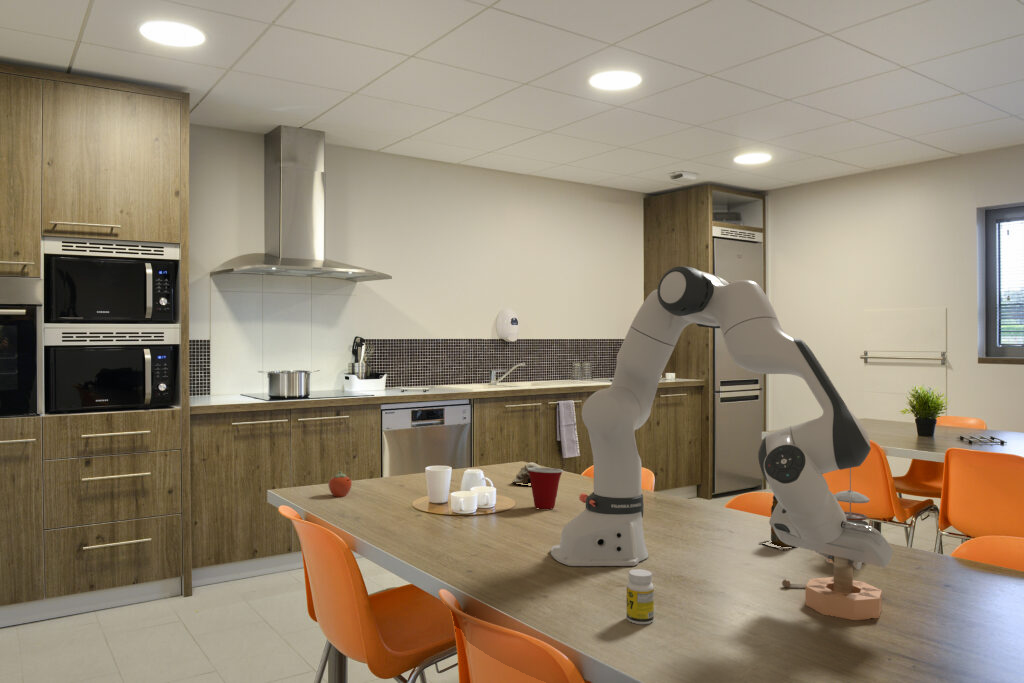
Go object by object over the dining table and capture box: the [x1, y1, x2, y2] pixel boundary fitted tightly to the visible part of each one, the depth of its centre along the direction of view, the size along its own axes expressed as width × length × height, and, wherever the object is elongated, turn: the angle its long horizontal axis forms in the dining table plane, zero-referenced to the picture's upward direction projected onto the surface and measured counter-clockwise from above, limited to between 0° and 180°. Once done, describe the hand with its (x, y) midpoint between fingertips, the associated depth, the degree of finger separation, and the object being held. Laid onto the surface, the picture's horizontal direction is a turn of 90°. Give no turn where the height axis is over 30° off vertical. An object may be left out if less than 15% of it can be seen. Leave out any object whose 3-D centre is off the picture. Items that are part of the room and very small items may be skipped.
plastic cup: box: [527, 466, 564, 510], centre depth 217 cm, size 11×11×12 cm
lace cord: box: [781, 578, 807, 589], centre depth 146 cm, size 18×2×2 cm, turn 88°
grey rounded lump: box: [512, 462, 541, 484], centre depth 256 cm, size 12×10×10 cm
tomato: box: [328, 470, 353, 498], centre depth 233 cm, size 7×7×8 cm
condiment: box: [758, 494, 795, 551], centre depth 178 cm, size 7×8×12 cm
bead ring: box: [804, 576, 883, 621], centre depth 135 cm, size 12×12×4 cm
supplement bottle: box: [626, 568, 655, 625], centre depth 128 cm, size 5×5×8 cm
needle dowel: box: [833, 556, 854, 594], centre depth 135 cm, size 3×3×13 cm
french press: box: [833, 468, 871, 526], centre depth 169 cm, size 10×12×25 cm
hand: (844, 563), depth 136 cm, fingers closed on needle dowel, 3 cm apart
